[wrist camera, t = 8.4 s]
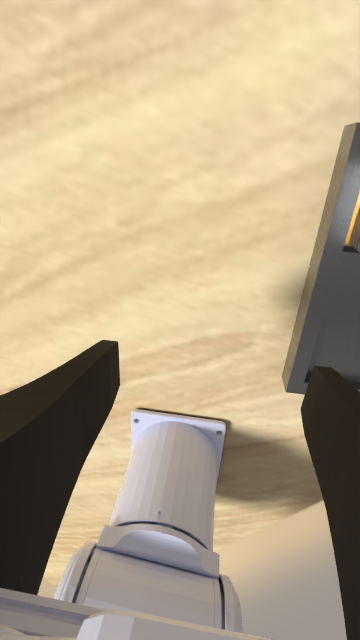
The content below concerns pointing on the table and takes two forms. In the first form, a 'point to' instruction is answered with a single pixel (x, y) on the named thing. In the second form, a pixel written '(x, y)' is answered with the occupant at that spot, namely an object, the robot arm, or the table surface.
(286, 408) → the table surface
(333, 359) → the dark gray slotted base
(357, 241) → the grey square block
